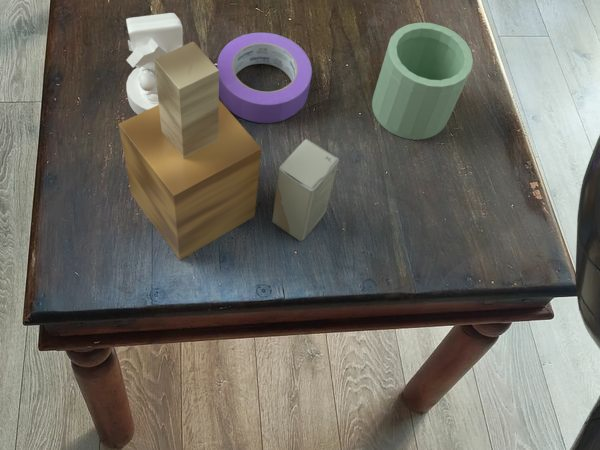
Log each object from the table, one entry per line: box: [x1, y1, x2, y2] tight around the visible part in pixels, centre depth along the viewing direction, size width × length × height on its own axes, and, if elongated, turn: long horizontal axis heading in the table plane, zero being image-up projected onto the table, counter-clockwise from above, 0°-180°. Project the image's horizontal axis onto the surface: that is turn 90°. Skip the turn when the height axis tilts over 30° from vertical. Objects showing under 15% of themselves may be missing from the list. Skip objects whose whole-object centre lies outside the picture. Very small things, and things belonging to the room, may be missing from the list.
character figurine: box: [125, 12, 184, 115], centre depth 82 cm, size 9×10×12 cm
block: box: [154, 41, 220, 159], centre depth 64 cm, size 4×4×10 cm
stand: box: [118, 99, 262, 261], centre depth 74 cm, size 10×10×13 cm
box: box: [271, 138, 340, 242], centre depth 76 cm, size 5×4×11 cm
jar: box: [371, 22, 474, 141], centre depth 86 cm, size 10×10×10 cm
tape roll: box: [216, 32, 313, 124], centre depth 88 cm, size 12×12×4 cm
